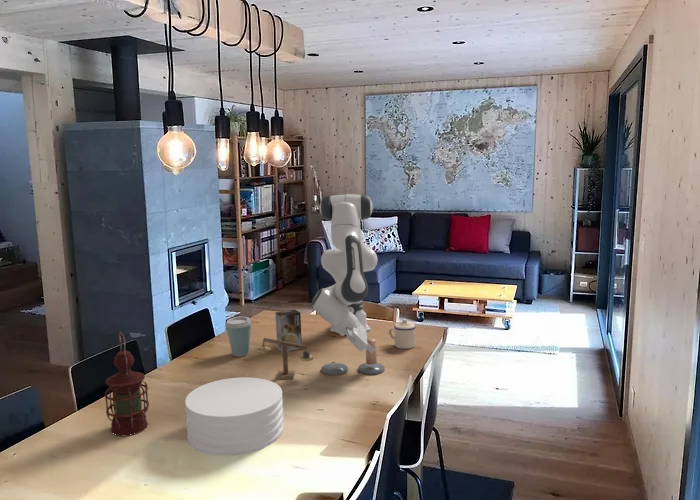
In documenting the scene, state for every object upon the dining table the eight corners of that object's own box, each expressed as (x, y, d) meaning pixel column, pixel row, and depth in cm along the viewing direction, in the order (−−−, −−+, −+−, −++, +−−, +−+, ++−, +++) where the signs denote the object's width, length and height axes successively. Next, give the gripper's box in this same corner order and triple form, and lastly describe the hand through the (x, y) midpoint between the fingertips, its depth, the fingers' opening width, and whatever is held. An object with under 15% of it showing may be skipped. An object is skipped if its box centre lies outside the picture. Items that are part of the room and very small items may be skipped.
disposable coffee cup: (244, 359, 230) (242, 323, 227) (221, 356, 234) (219, 321, 231) (257, 351, 239) (256, 317, 237) (235, 348, 243) (234, 314, 241)
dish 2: (358, 365, 222) (358, 362, 221) (383, 364, 222) (383, 362, 221) (358, 374, 212) (358, 372, 212) (385, 374, 212) (385, 371, 212)
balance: (259, 373, 215) (257, 335, 212) (314, 372, 215) (313, 334, 212) (257, 379, 209) (255, 340, 207) (313, 378, 209) (312, 339, 207)
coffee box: (296, 344, 247) (295, 308, 245) (302, 349, 242) (301, 312, 239) (276, 348, 243) (275, 311, 241) (282, 352, 238) (280, 315, 235)
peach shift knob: (365, 360, 218) (365, 338, 217) (376, 360, 218) (376, 338, 217) (366, 364, 214) (365, 341, 213) (376, 364, 214) (376, 341, 213)
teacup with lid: (418, 344, 245) (419, 318, 243) (410, 350, 237) (410, 323, 236) (393, 340, 251) (393, 314, 249) (384, 346, 243) (384, 319, 242)
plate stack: (203, 411, 184) (201, 377, 182) (289, 411, 183) (288, 377, 181) (174, 456, 156) (171, 416, 154) (275, 456, 155) (273, 416, 153)
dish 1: (322, 365, 222) (322, 363, 222) (347, 365, 222) (347, 362, 221) (320, 375, 212) (320, 372, 212) (347, 375, 212) (347, 372, 212)
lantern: (155, 430, 171) (147, 334, 166) (111, 441, 164) (102, 341, 159) (145, 415, 181) (138, 324, 176) (104, 425, 174) (95, 331, 170)
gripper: (352, 326, 203) (380, 352, 205) (352, 311, 223) (377, 335, 225) (340, 338, 204) (368, 364, 205) (341, 322, 224) (366, 346, 226)
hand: (372, 348), depth 215 cm, fingers closed on peach shift knob, 4 cm apart
